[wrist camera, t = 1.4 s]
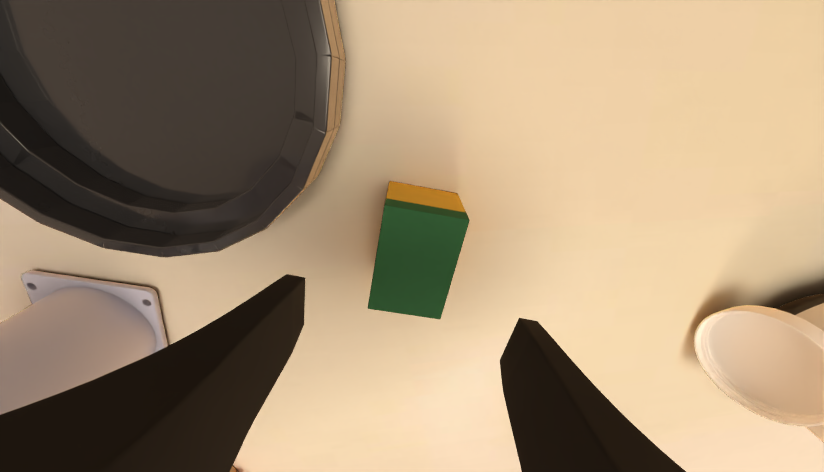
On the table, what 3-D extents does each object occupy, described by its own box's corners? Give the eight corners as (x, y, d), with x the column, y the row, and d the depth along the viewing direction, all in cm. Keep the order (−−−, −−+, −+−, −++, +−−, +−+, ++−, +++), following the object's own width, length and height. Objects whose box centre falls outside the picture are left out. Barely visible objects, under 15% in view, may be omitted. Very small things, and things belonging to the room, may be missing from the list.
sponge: (435, 278, 20) (440, 319, 17) (375, 269, 20) (367, 308, 17) (458, 193, 18) (470, 220, 14) (389, 180, 18) (384, 205, 14)
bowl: (331, 249, 19) (316, 281, 16) (16, 198, 18) (-68, 222, 15) (368, -165, 12) (353, -257, 9) (-182, -320, 10) (-449, -504, 7)
